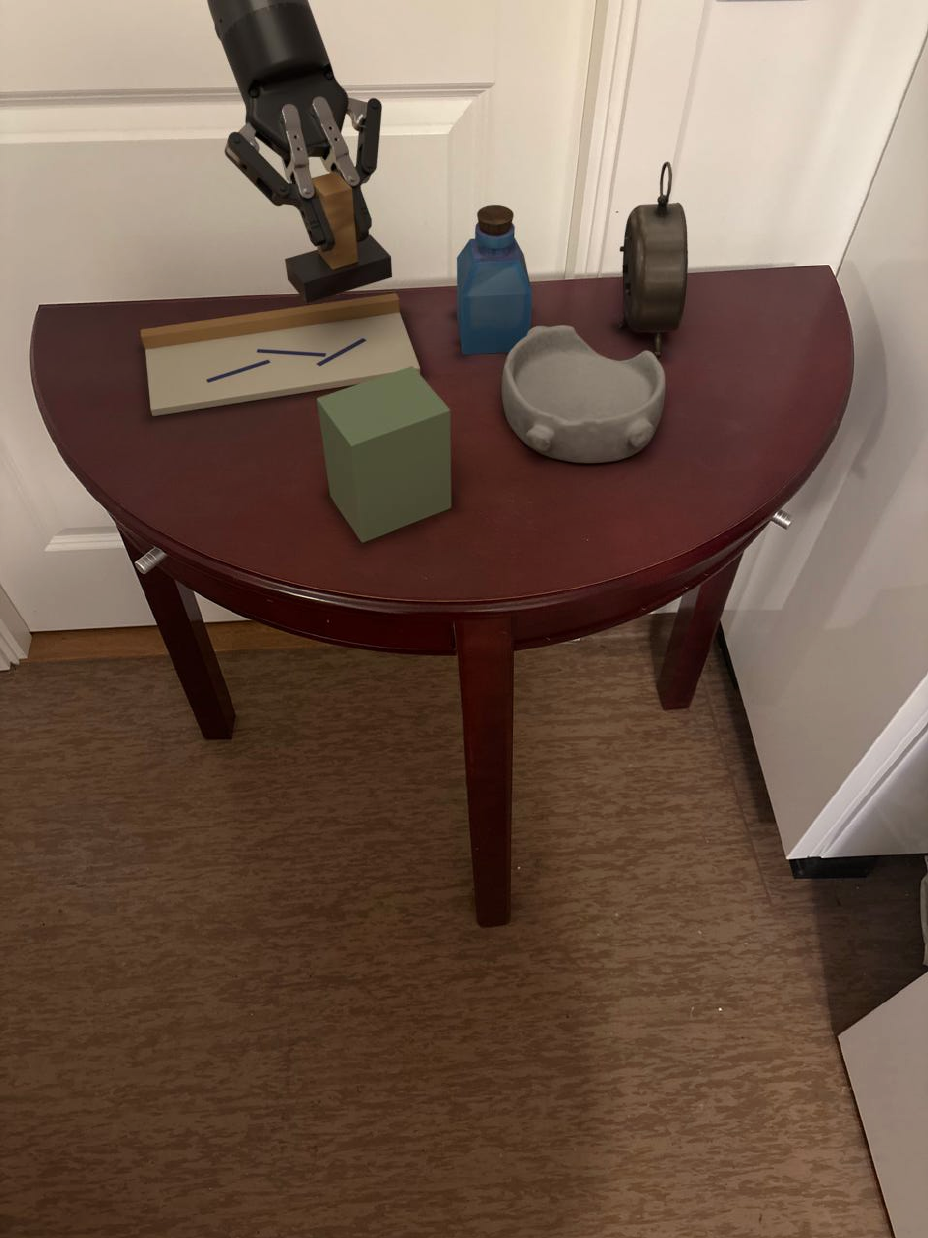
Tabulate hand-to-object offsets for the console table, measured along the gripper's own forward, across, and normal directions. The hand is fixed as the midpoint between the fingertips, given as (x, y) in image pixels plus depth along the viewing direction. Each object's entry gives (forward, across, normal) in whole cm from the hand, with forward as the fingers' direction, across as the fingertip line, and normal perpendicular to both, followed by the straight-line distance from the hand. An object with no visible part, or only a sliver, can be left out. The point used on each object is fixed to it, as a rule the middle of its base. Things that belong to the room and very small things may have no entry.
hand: (346, 242), depth 82 cm
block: (+21, -5, -2) cm, 21 cm away
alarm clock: (+14, +26, +4) cm, 30 cm away
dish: (+20, +14, -1) cm, 25 cm away
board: (+6, -6, +13) cm, 15 cm away
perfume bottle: (+10, +14, +9) cm, 19 cm away
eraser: (+2, 0, +5) cm, 5 cm away
